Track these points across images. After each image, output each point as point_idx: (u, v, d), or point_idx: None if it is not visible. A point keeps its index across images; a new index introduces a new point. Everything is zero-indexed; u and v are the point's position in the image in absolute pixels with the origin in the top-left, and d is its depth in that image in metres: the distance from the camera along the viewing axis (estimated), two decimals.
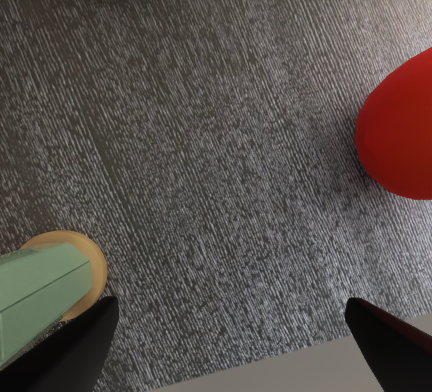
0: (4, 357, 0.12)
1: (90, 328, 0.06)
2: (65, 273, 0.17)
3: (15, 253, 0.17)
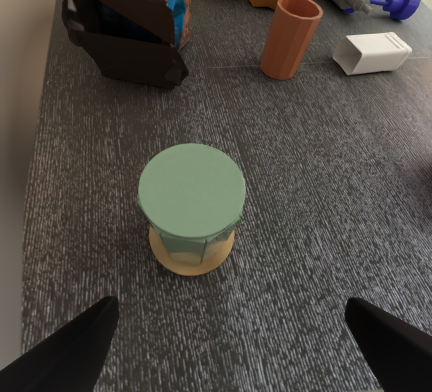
0: (241, 214, 0.14)
1: (90, 328, 0.06)
2: None
3: None
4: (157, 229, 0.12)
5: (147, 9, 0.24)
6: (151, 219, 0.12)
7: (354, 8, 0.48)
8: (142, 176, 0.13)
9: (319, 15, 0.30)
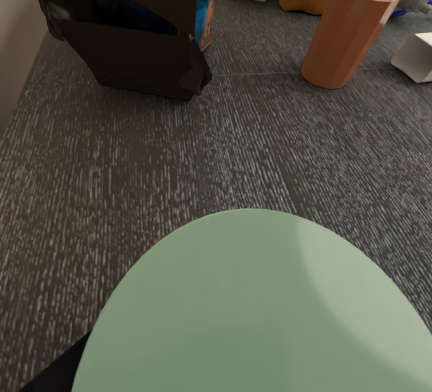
0: None
1: None
2: None
3: None
4: None
5: None
6: None
7: (407, 9, 0.40)
8: (92, 343, 0.04)
9: None
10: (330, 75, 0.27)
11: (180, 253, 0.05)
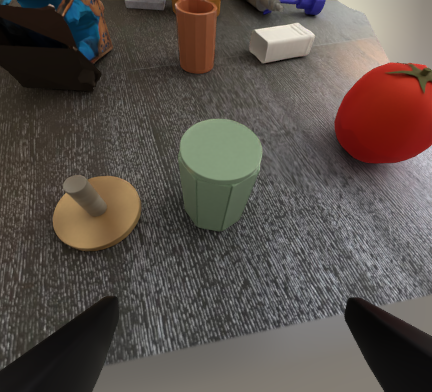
0: (259, 169, 0.17)
1: (90, 328, 0.06)
2: None
3: None
4: (194, 176, 0.16)
5: (39, 17, 0.26)
6: (190, 167, 0.16)
7: (269, 8, 0.53)
8: (182, 139, 0.17)
9: (212, 10, 0.33)
10: (194, 64, 0.38)
11: (200, 126, 0.18)
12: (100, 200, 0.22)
